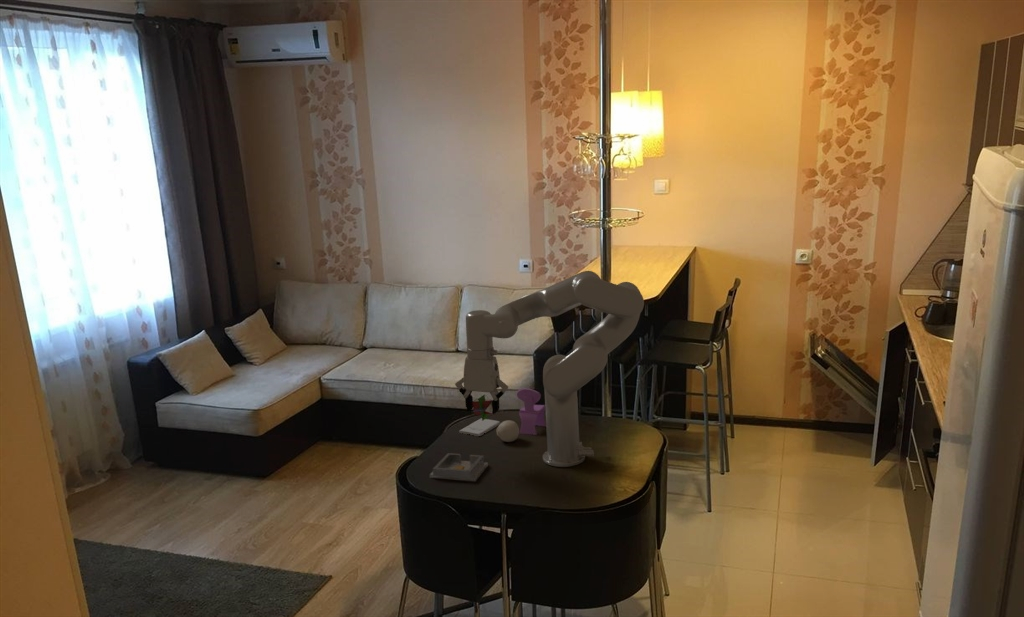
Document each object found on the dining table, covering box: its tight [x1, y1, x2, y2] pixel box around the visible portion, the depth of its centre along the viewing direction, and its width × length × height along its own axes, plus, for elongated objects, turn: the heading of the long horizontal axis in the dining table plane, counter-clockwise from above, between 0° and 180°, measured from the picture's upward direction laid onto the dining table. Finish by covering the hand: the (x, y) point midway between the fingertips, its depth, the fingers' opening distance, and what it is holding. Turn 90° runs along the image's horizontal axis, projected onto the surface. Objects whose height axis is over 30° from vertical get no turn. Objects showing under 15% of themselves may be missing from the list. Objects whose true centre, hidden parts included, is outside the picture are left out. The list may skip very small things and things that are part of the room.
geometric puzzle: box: [472, 394, 495, 421], centre depth 231 cm, size 7×7×8 cm
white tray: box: [429, 452, 489, 482], centre depth 228 cm, size 14×12×3 cm
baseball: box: [496, 419, 520, 443], centre depth 249 cm, size 7×7×7 cm
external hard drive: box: [458, 417, 501, 437], centre depth 262 cm, size 2×8×12 cm
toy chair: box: [516, 387, 546, 436], centre depth 257 cm, size 8×9×15 cm
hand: (482, 410), depth 231 cm, fingers closed on geometric puzzle, 7 cm apart
